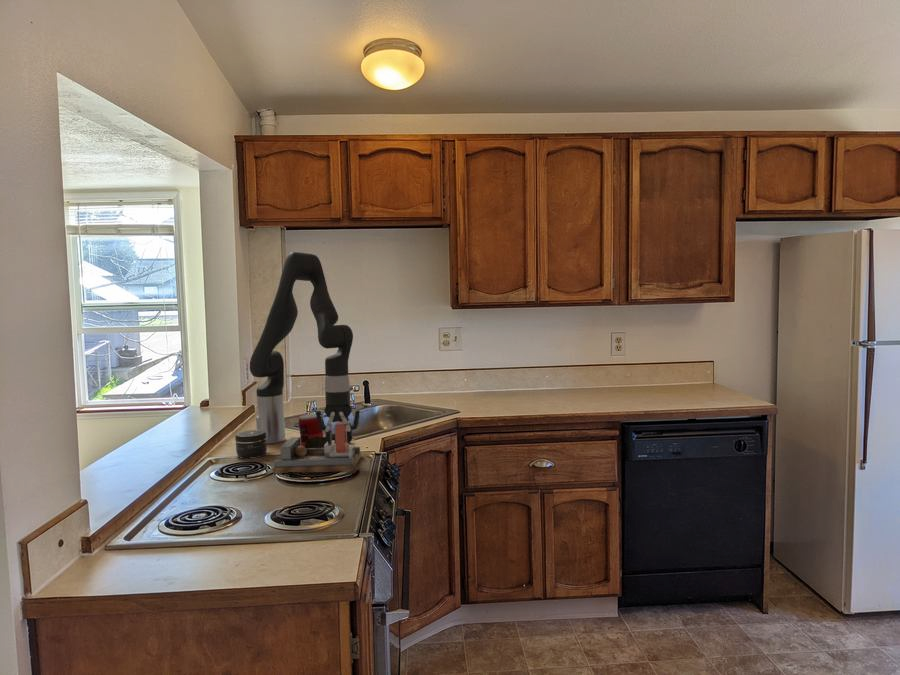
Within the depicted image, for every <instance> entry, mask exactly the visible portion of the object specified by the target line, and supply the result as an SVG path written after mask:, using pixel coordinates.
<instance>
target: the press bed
mask: <svg viewBox="0 0 900 675" xmlns="http://www.w3.org/2000/svg"><path fill="white" fill-rule="evenodd" d="M322 458H325V455H305V456H304V457H299V458H298V459H322ZM361 458H362V452H361V451H360V454H355V455H354V456H353V465H342V466H308V467H274V466H273V468H272V474H289V473H288V472H302V473H328V472H330V473H332V472H334V473H335V472H353V471H354V469H355V467H356V465H357V464H358V462H359V461H360V459H361Z"/></svg>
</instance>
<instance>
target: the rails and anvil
mask: <svg viewBox="0 0 900 675" xmlns="http://www.w3.org/2000/svg"><path fill="white" fill-rule="evenodd" d="M298 446H301V437H300V436H297V437H295V436H294V437H290V438H289V439H287V440H286V441H284V443H283V444H282V445H281V446H280V447H279V450H280V451H279V452H280V459H274V460H273V468H274V467H308V466H342V465H353V458H322V459H298V458H299V457H297V456H296V455H295V449H296V448H297V447H298ZM306 450H307V453H306V455H325V454H324V447H322V448H306ZM360 452H361V446H355V454H360Z"/></svg>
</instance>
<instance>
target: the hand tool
mask: <svg viewBox="0 0 900 675" xmlns="http://www.w3.org/2000/svg"><path fill="white" fill-rule="evenodd" d="M334 440H335V433H332V441H334ZM326 443H327V441H326V435H325V436H323V437H321V438H320V437H318V436H317V437H313V438H310V439H308V440H307V442H306V444H305V448H324V445H325V444H326ZM335 445H336V441H335Z"/></svg>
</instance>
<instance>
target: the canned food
mask: <svg viewBox="0 0 900 675" xmlns="http://www.w3.org/2000/svg"><path fill="white" fill-rule="evenodd" d="M298 425H299V435H300V436H299V437H301V446H304V447H305V444H306V442H307V440H308V439H310V438H313V437H317V436H318V437H320V438H321V437H324V432H323V431H324V430H320V429H319V425H318V420H317V416H316V412H313V413H305V414H302V415H298Z"/></svg>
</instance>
